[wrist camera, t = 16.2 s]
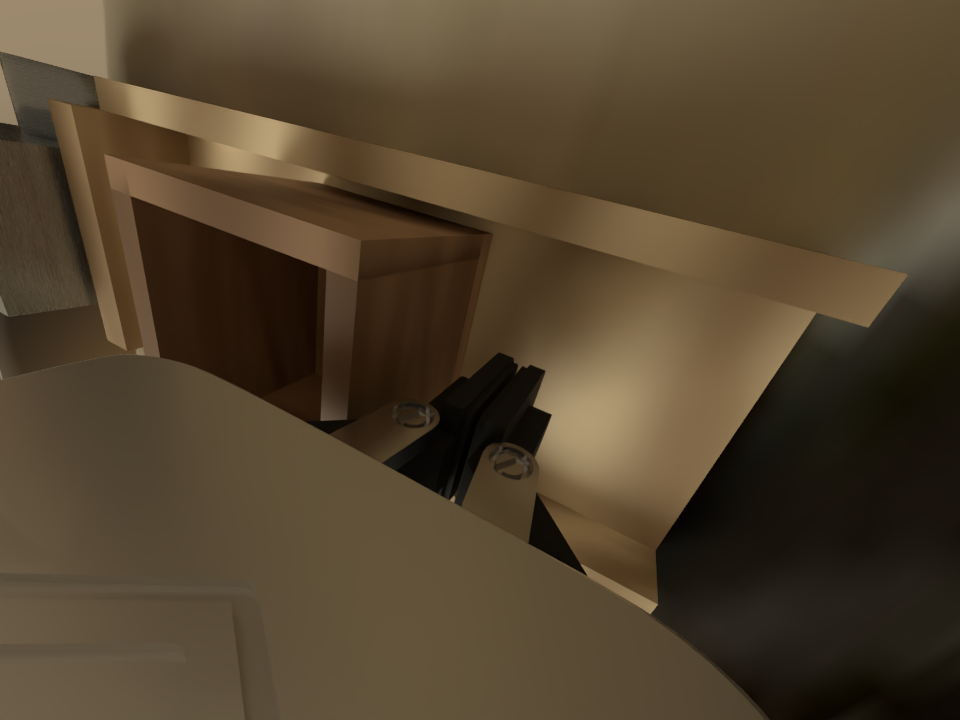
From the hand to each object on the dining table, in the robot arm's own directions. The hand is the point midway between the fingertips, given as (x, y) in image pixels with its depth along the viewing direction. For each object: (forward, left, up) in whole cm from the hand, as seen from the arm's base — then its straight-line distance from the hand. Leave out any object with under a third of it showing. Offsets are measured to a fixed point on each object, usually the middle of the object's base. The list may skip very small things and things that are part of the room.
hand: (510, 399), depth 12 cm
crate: (+7, 0, -2) cm, 7 cm away
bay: (+7, 0, -4) cm, 8 cm away
